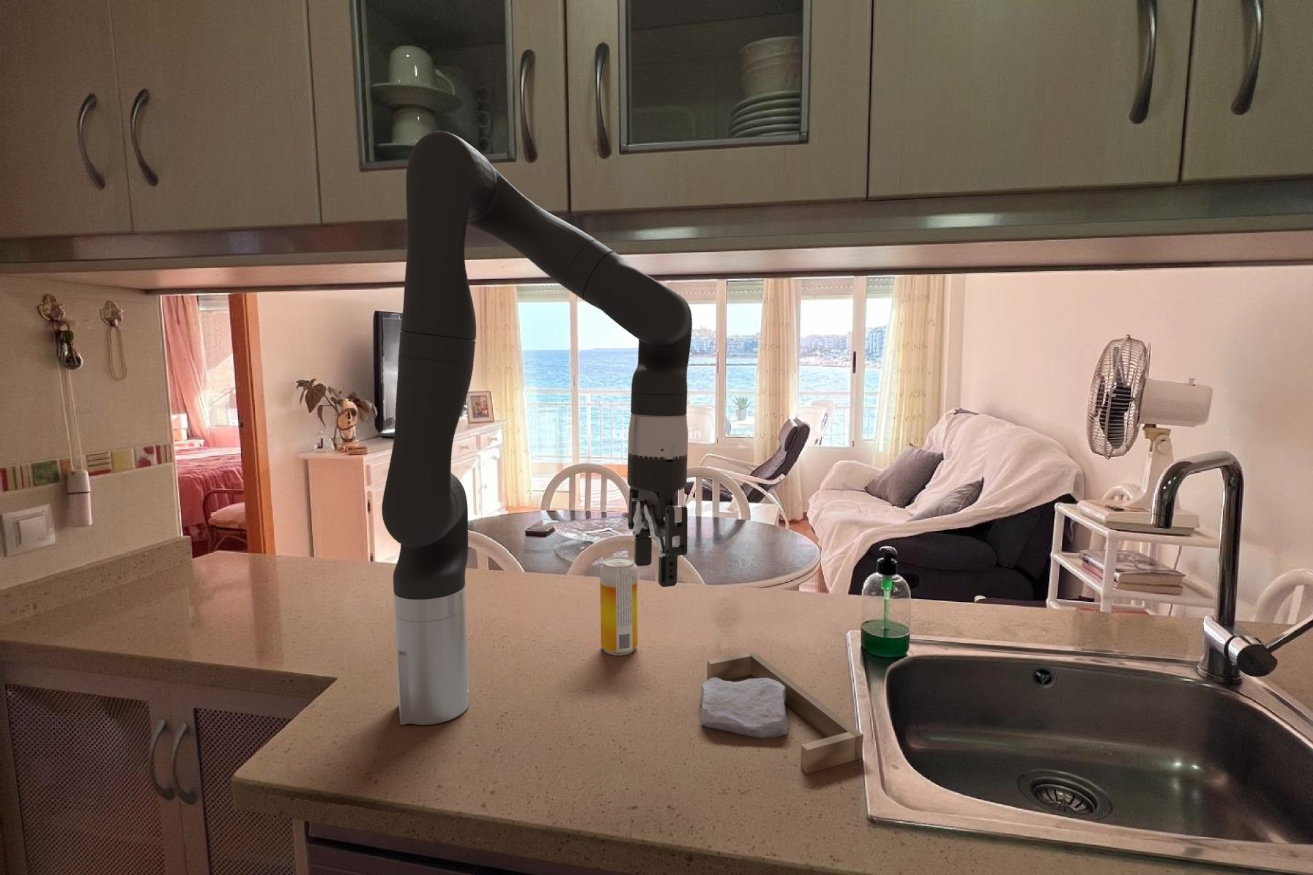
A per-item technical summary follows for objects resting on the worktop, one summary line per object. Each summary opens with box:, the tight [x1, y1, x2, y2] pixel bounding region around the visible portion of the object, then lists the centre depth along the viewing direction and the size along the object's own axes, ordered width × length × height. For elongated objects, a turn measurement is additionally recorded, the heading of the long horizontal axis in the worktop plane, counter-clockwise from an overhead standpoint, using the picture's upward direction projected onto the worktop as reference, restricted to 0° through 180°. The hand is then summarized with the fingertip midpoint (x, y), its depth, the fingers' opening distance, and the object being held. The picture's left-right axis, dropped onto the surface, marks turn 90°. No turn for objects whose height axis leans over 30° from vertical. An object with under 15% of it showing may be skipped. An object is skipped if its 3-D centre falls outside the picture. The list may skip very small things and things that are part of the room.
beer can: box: [599, 556, 638, 656], centre depth 111 cm, size 6×6×15 cm
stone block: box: [699, 678, 790, 739], centre depth 90 cm, size 12×5×10 cm
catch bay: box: [706, 651, 864, 775], centre depth 91 cm, size 8×25×3 cm, turn 23°
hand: (654, 574), depth 86 cm, fingers open, 8 cm apart
